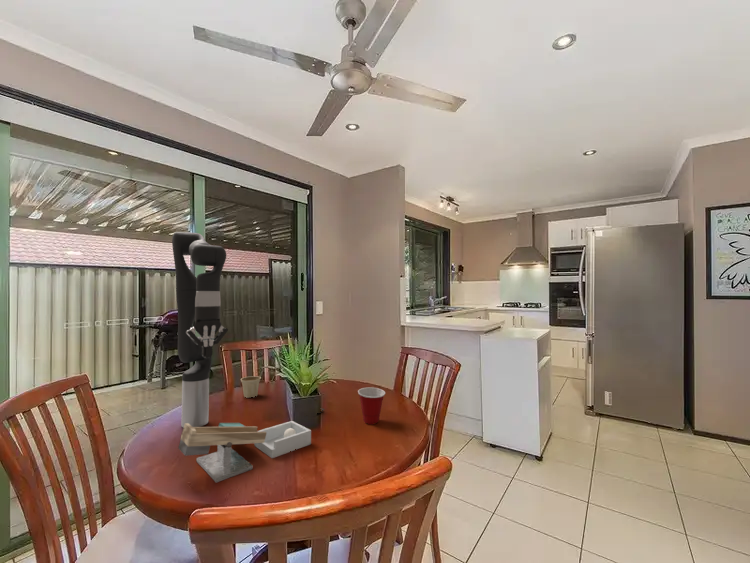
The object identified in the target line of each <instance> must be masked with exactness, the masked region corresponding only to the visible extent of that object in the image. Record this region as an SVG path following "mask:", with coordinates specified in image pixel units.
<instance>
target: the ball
mask: <svg viewBox="0 0 750 563" xmlns="http://www.w3.org/2000/svg"><path fill="white" fill-rule="evenodd" d="M294 434H296V431H295V430H294V429H292V428H289V429H287V430H286V431H285V432H284V438H285V437H288V436H291V435H294Z"/></svg>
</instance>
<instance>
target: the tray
mask: <svg viewBox="0 0 750 563" xmlns="http://www.w3.org/2000/svg"><path fill="white" fill-rule="evenodd" d="M289 428H292V429H294V430H295V431H296V434H294V435H291V436H288V437H285V438H284V432H285V431H286V430H287V429H289ZM257 432H267V433H266V437H265V441H264V443H253V444H254V447H255V448H257V449H258V450H260V451H261V452H262V453H263V454H265V455H266V456H268V457H269V458H271V459H274V458H277V457H280V456H283V455H285V454H288V453H290V451H291V452H293V451H296V450H298V449H301V448H304V447H308V446H310V445H311V444H312V430H311V429H310V428H308V427H305V426H304V425H301V424H299V423H297V422H296V421H293V420H290V421H287V422H283V423H280V424H276V425H273V426H270V427H266V428H263V429H260V430H257ZM295 449H296V450H295Z"/></svg>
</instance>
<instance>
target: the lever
mask: <svg viewBox="0 0 750 563" xmlns="http://www.w3.org/2000/svg"><path fill="white" fill-rule="evenodd" d="M258 428H259V427H258V426H255V425H252V426H250V425H249V426H248V425H247V426H246V425H244V424H242V423H240V422H219V423H218V426H201V427H192V426H191V425H190V424H189V423H185V424H184V428H183V427H182V432H181V435H180V440H179V441H180V442H179V444H178V450H179V451H180V453H182V454H183V455H184V457H186V456H187V457H188V456H199V455H200V456H203V455H208V454H210V453H209V452H210V449H211V446H218V445H226V446H227V447H228V448H230V447H231V448H232V446H233V445H245V444H247V445H248V444H250V445H251V444H254V443H264V441H265V437H266V433H267V432H258Z"/></svg>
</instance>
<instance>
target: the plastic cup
mask: <svg viewBox="0 0 750 563" xmlns="http://www.w3.org/2000/svg"><path fill="white" fill-rule="evenodd" d="M357 394H358V396H359V400H360V407H361V412H362V418H363V422H365V423H364V424H366V423H368V424H367V425H374V424H373V423H377V422H378V421H380V415H381V412H382V407H383V406H382V405H383V401H384V398H385V395H386V391H385V390H383V389H381V388H378V387H373V386H372V387H371V386H370V387H362V388H359V389H358V390H357ZM378 423H379V422H378ZM378 423H377V424H378Z"/></svg>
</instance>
